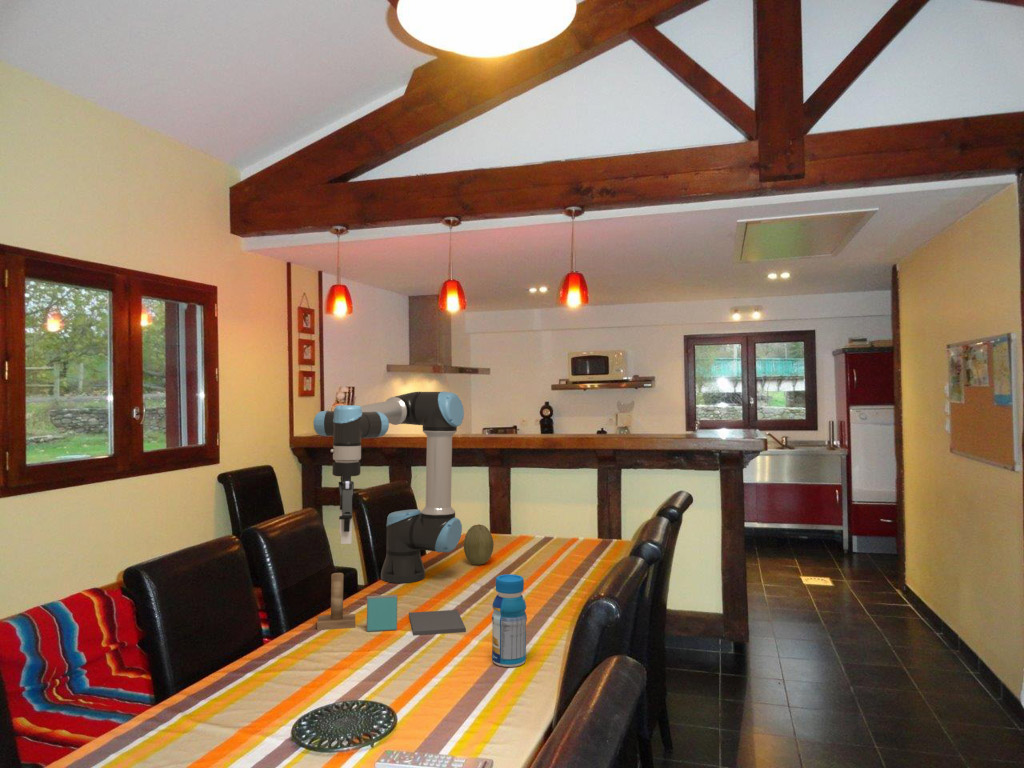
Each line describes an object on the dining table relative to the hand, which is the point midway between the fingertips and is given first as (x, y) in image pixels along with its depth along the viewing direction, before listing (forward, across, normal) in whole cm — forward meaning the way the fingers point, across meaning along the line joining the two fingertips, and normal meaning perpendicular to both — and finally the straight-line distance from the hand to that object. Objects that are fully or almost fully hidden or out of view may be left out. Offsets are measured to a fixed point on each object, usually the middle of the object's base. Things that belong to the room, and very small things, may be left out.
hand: (345, 538), depth 187 cm
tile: (+24, +6, +10) cm, 26 cm away
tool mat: (+24, +4, +25) cm, 35 cm away
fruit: (+24, -58, +52) cm, 81 cm away
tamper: (+24, -1, -2) cm, 24 cm away
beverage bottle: (+24, +35, +37) cm, 57 cm away
